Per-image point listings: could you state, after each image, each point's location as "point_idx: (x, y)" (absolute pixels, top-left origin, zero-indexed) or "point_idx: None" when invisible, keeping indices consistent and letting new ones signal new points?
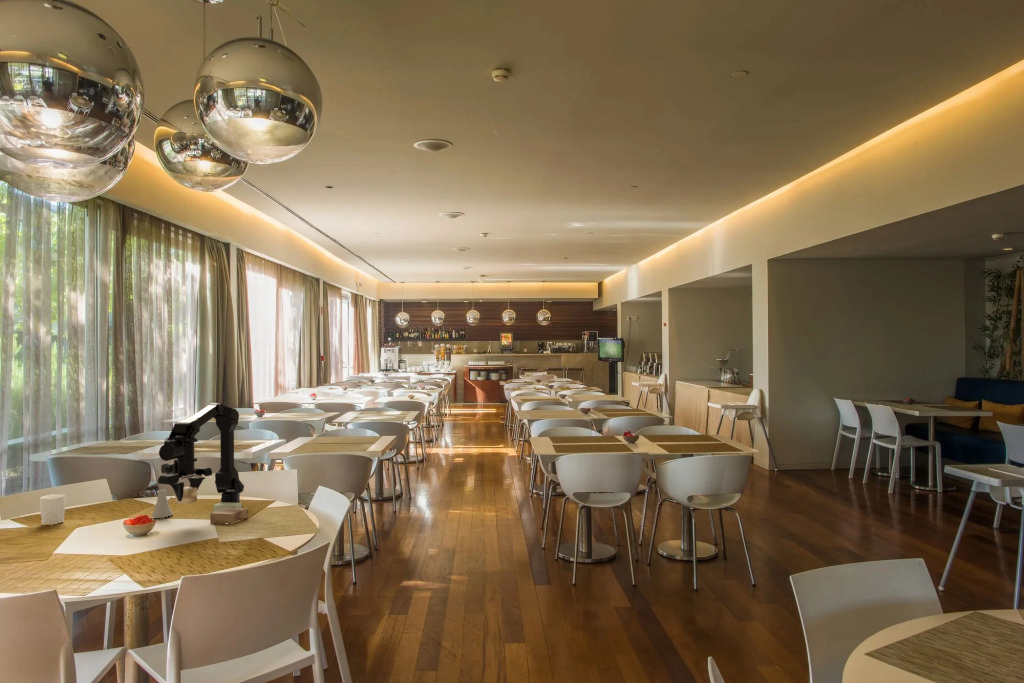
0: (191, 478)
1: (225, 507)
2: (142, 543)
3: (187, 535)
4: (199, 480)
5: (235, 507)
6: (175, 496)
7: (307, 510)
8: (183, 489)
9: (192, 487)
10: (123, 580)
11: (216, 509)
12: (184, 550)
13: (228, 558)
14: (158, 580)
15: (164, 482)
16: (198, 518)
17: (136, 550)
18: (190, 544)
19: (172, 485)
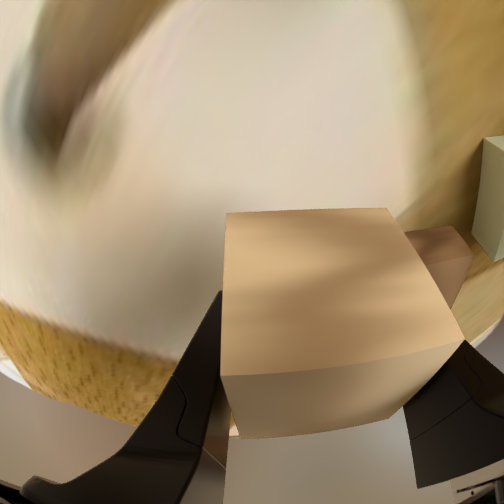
0: (485, 465)
1: (499, 215)
2: (25, 251)
3: (166, 301)
4: (420, 472)
5: (490, 254)
6: (224, 276)
7: (476, 340)
8: (274, 420)
9: (397, 403)
10: (11, 369)
11: (500, 165)
12: (102, 368)
13: (144, 416)
14: (48, 395)
15: (14, 500)
16: (425, 108)
17: (12, 292)
18: (128, 357)
19: (123, 476)
